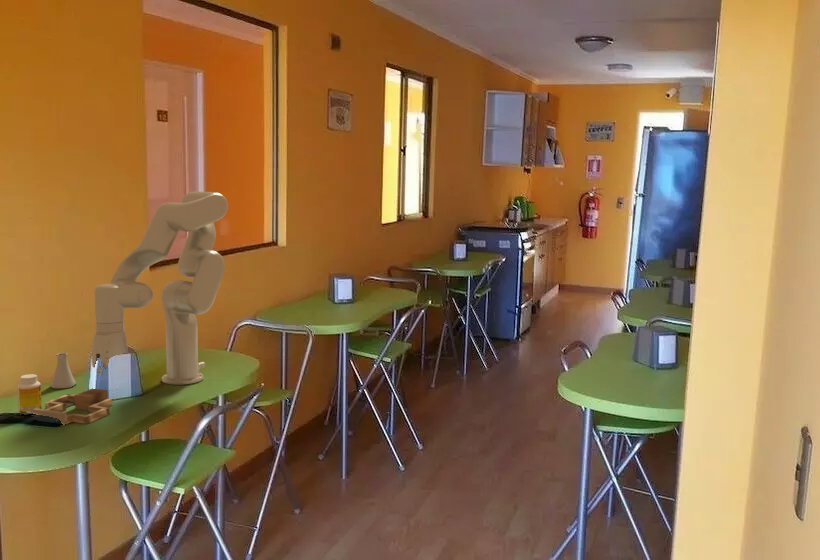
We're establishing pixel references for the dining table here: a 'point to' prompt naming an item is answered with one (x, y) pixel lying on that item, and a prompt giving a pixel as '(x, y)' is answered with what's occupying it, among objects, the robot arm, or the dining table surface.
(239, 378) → the dining table surface
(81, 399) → the walnut block
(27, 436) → the dining table surface
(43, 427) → the dining table surface
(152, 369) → the dining table surface
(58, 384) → the flask
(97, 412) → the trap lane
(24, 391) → the supplement bottle
